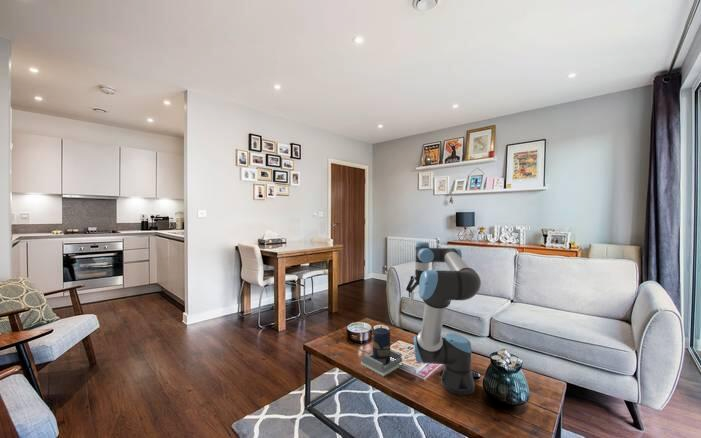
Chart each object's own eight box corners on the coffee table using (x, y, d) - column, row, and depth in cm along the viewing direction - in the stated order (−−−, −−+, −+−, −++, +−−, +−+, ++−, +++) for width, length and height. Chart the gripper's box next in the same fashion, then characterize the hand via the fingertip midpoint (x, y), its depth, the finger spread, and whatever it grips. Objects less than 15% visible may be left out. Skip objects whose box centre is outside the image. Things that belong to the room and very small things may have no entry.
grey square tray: (402, 364, 157) (402, 354, 157) (383, 376, 146) (383, 365, 146) (380, 354, 169) (380, 344, 169) (360, 364, 158) (360, 354, 158)
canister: (391, 366, 153) (391, 332, 152) (373, 366, 153) (373, 332, 152) (389, 357, 162) (389, 325, 162) (371, 357, 162) (372, 325, 162)
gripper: (445, 271, 160) (444, 310, 160) (407, 265, 178) (407, 299, 178) (438, 273, 155) (437, 313, 155) (400, 266, 173) (399, 302, 173)
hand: (421, 306), depth 167 cm, fingers open, 13 cm apart
